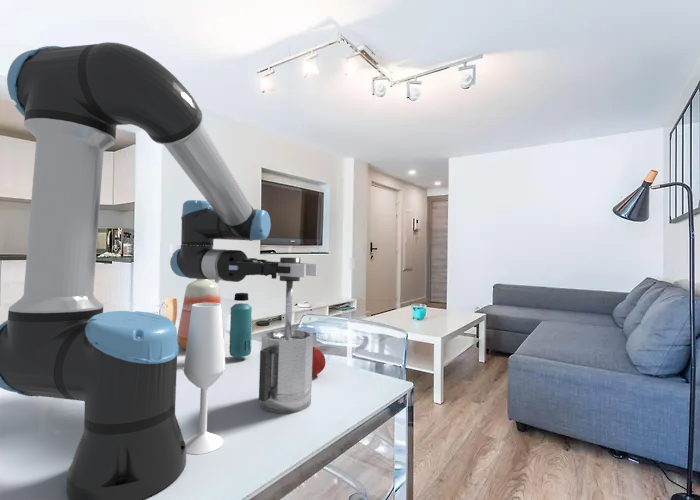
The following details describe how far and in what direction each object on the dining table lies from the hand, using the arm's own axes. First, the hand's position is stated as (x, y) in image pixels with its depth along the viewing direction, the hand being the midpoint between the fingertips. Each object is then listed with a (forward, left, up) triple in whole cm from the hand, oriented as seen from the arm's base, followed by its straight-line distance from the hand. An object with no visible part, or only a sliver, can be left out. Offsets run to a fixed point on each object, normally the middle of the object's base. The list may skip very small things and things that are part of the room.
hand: (310, 270), depth 79 cm
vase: (+23, +54, -30) cm, 66 cm away
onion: (+18, +8, -30) cm, 36 cm away
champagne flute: (-21, +8, -30) cm, 37 cm away
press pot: (-2, +5, -30) cm, 30 cm away
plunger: (0, +5, -17) cm, 18 cm away
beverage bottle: (+20, +35, -30) cm, 50 cm away
